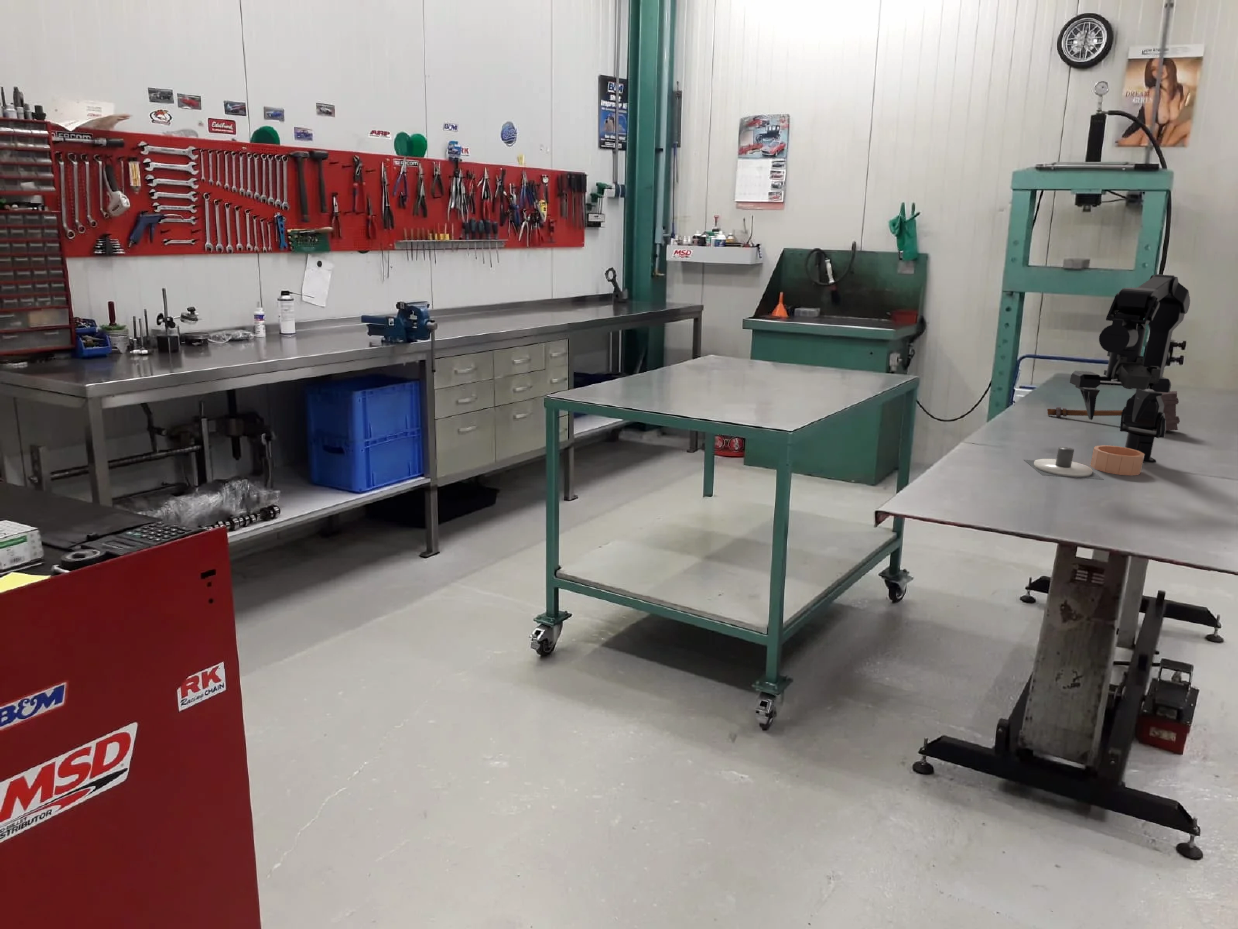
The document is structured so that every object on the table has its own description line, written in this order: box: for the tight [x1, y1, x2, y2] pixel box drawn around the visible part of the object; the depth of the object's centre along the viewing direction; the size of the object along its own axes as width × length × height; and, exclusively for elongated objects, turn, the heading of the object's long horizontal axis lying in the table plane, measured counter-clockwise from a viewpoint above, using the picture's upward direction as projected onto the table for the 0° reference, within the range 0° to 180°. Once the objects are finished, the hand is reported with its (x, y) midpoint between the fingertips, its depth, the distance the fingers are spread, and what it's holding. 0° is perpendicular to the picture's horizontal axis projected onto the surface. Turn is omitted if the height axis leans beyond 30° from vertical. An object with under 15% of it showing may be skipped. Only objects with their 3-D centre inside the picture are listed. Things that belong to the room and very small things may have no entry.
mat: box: [1023, 459, 1105, 481], centre depth 204 cm, size 13×13×1 cm
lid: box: [1034, 446, 1094, 478], centre depth 204 cm, size 12×12×5 cm
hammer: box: [1046, 390, 1180, 432], centre depth 256 cm, size 7×33×10 cm, turn 60°
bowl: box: [1089, 444, 1145, 476], centre depth 206 cm, size 10×10×4 cm
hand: (1112, 420), depth 197 cm, fingers open, 9 cm apart
